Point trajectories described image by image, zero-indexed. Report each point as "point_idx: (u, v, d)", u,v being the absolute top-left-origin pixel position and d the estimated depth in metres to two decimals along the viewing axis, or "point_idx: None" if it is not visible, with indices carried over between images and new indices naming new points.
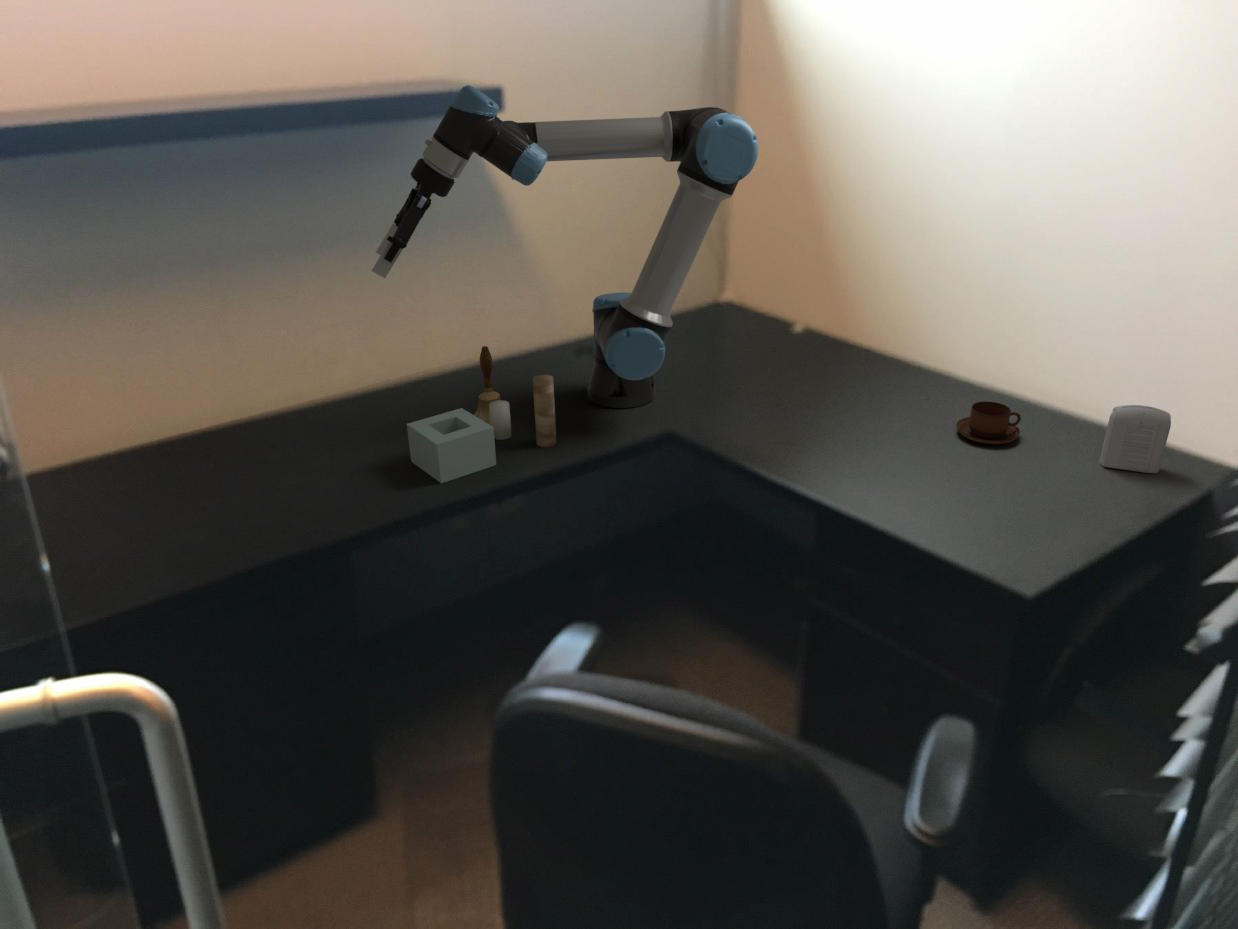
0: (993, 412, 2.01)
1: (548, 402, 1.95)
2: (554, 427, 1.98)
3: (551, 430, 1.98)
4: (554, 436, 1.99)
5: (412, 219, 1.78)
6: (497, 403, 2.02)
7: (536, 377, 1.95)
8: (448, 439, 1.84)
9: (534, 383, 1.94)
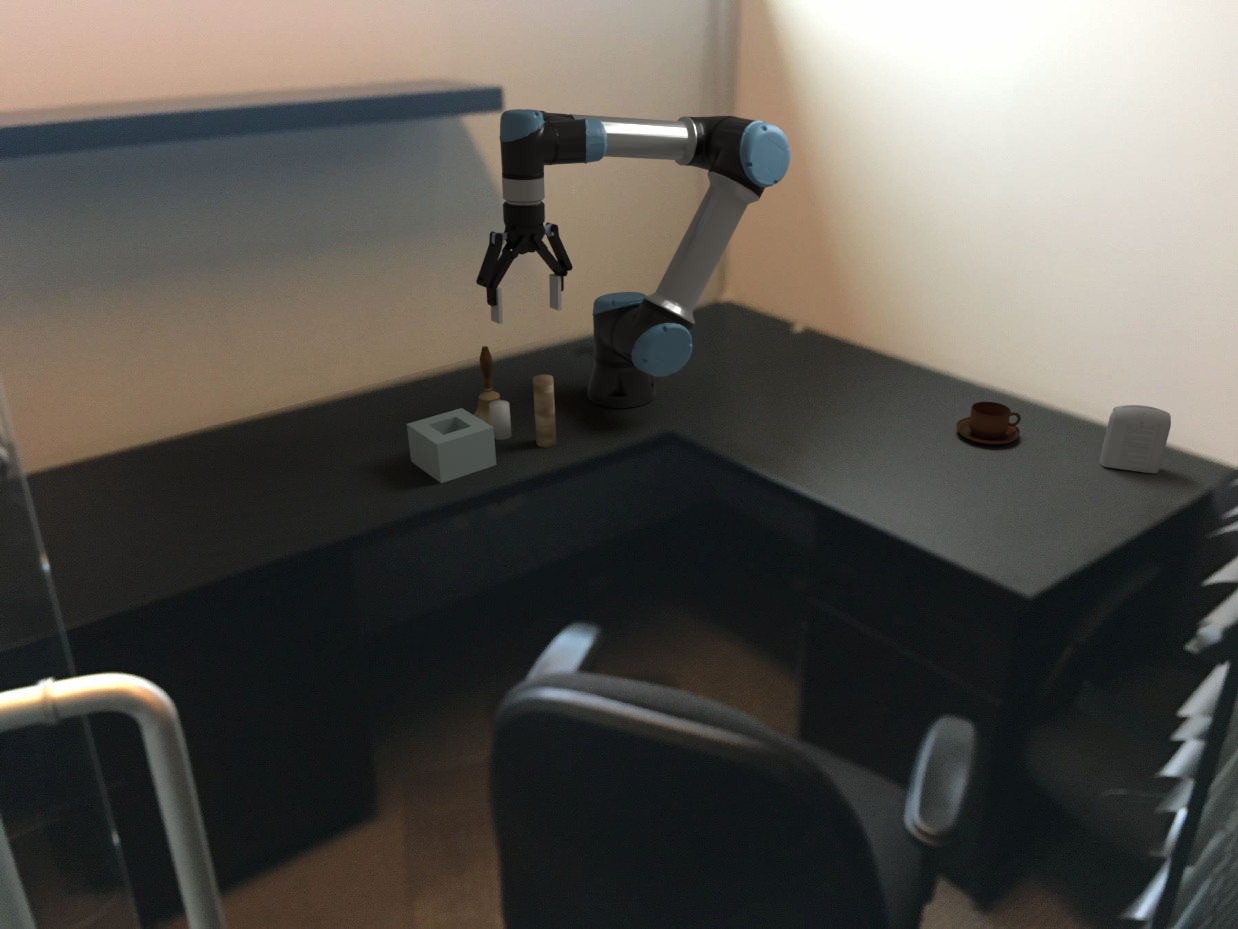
0: (993, 412, 2.01)
1: (548, 402, 1.95)
2: (554, 427, 1.98)
3: (551, 430, 1.98)
4: (554, 436, 1.99)
5: (488, 257, 1.78)
6: (497, 403, 2.02)
7: (536, 377, 1.95)
8: (448, 439, 1.84)
9: (534, 383, 1.94)
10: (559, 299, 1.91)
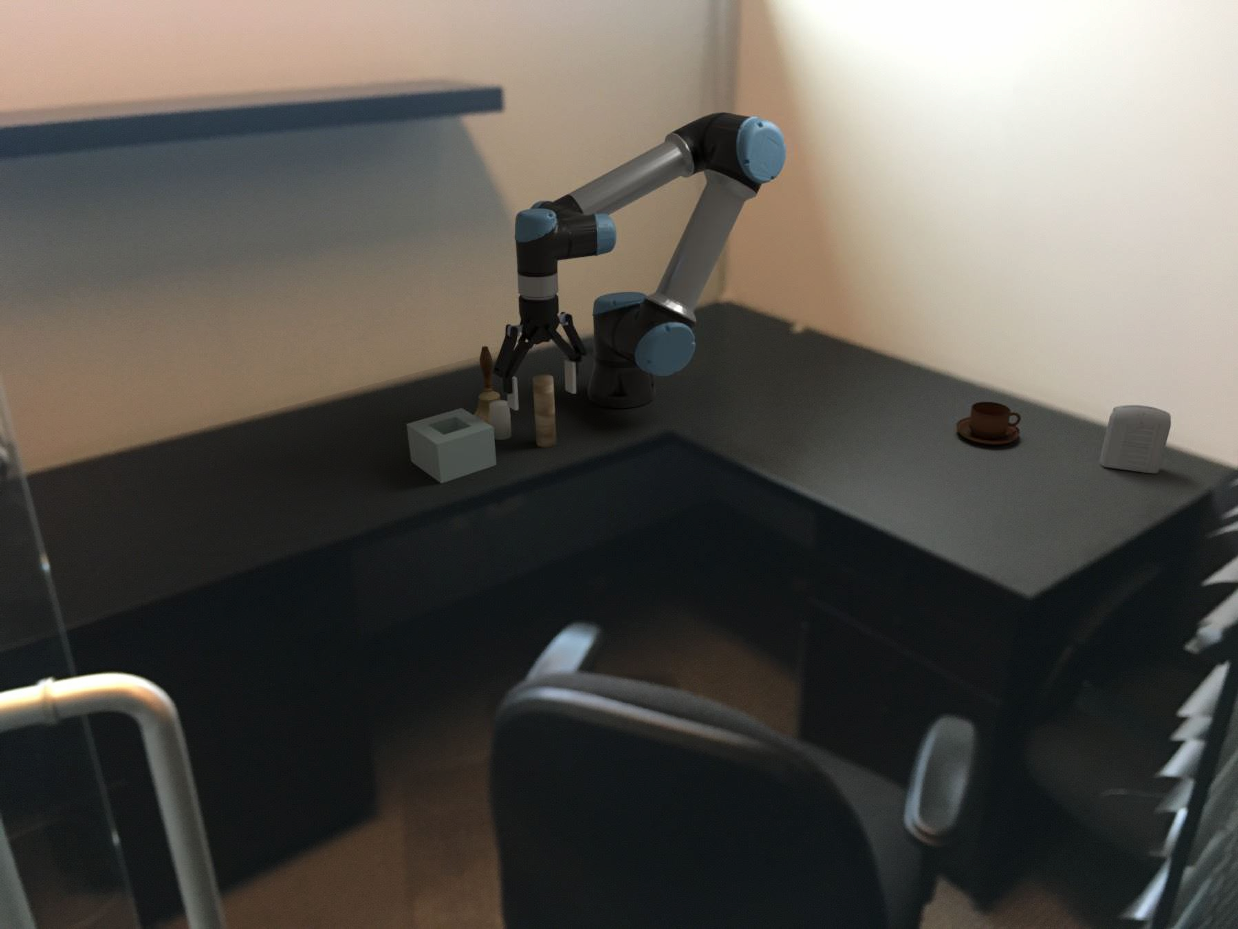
0: (993, 412, 2.01)
1: (548, 402, 1.95)
2: (554, 427, 1.98)
3: (551, 430, 1.98)
4: (554, 436, 1.99)
5: (504, 349, 1.86)
6: (497, 403, 2.02)
7: (536, 377, 1.95)
8: (448, 439, 1.84)
9: (534, 383, 1.94)
10: (574, 383, 1.98)
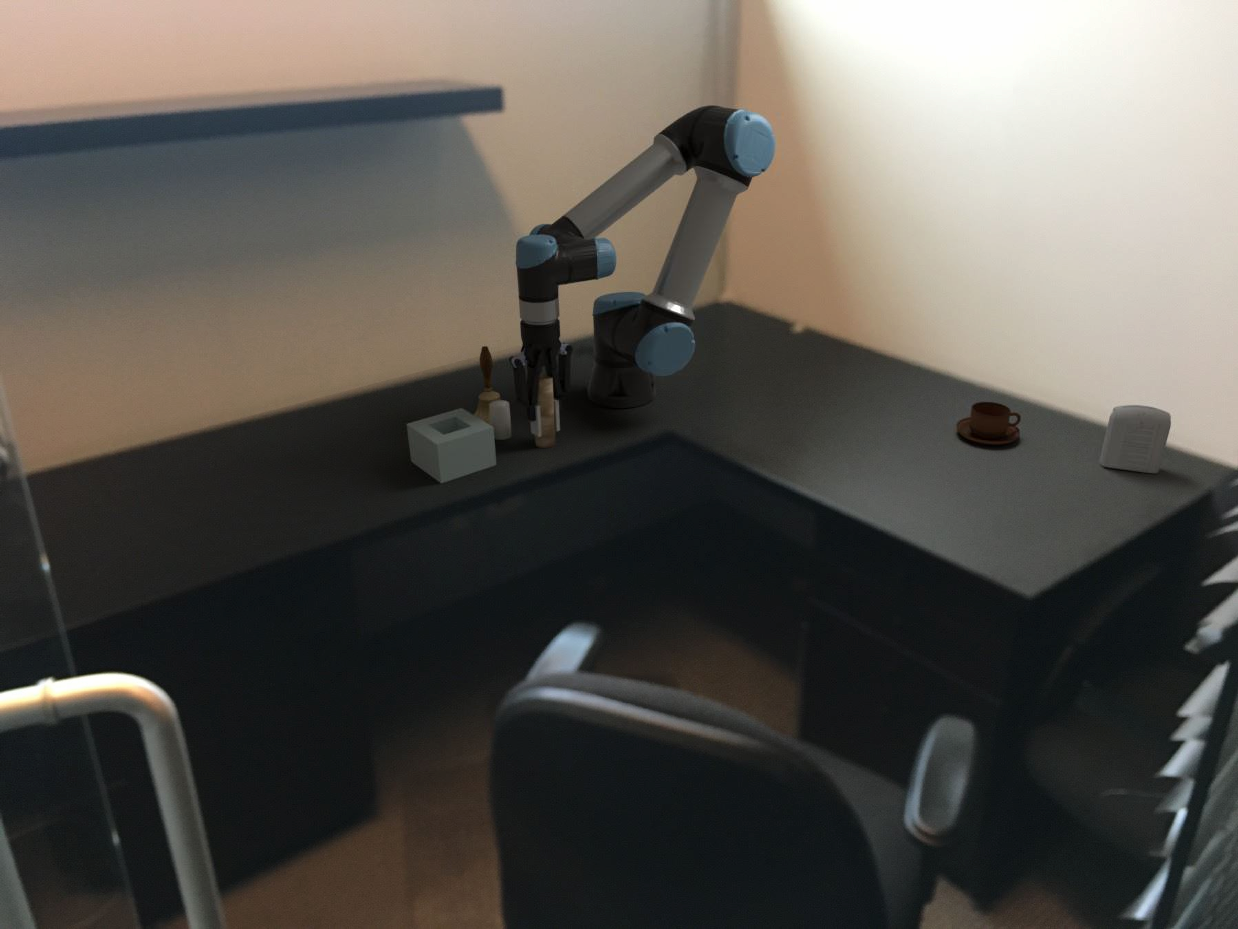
0: (993, 412, 2.01)
1: (547, 402, 1.95)
2: (553, 428, 1.98)
3: (550, 430, 1.97)
4: (553, 436, 1.99)
5: (517, 380, 1.91)
6: (497, 403, 2.02)
7: None
8: (448, 439, 1.84)
9: None
10: (557, 421, 1.99)
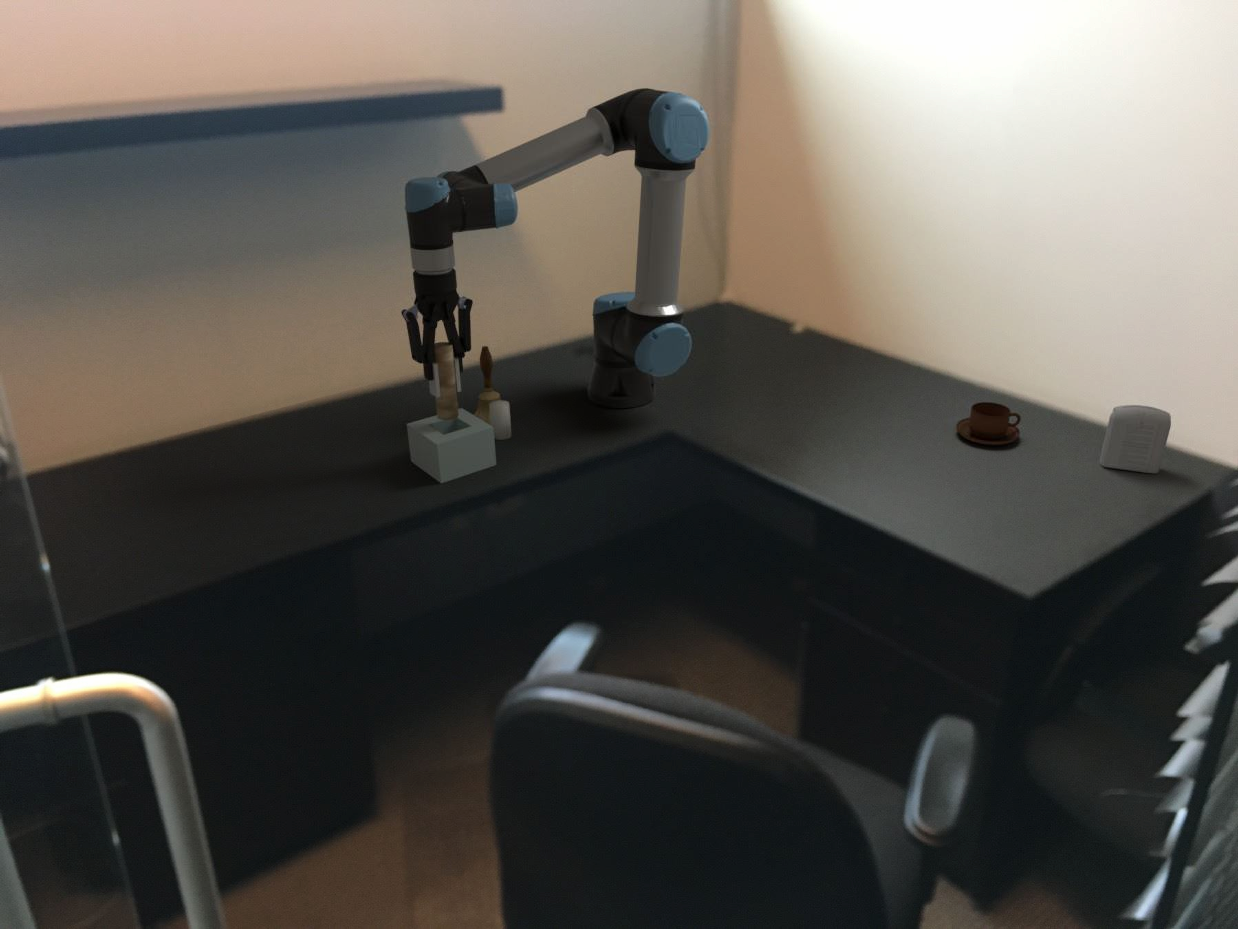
0: (993, 412, 2.01)
1: (447, 371, 1.83)
2: (454, 399, 1.86)
3: (451, 402, 1.86)
4: (455, 408, 1.87)
5: (411, 335, 1.78)
6: (497, 403, 2.02)
7: None
8: (448, 439, 1.84)
9: None
10: (458, 381, 1.86)
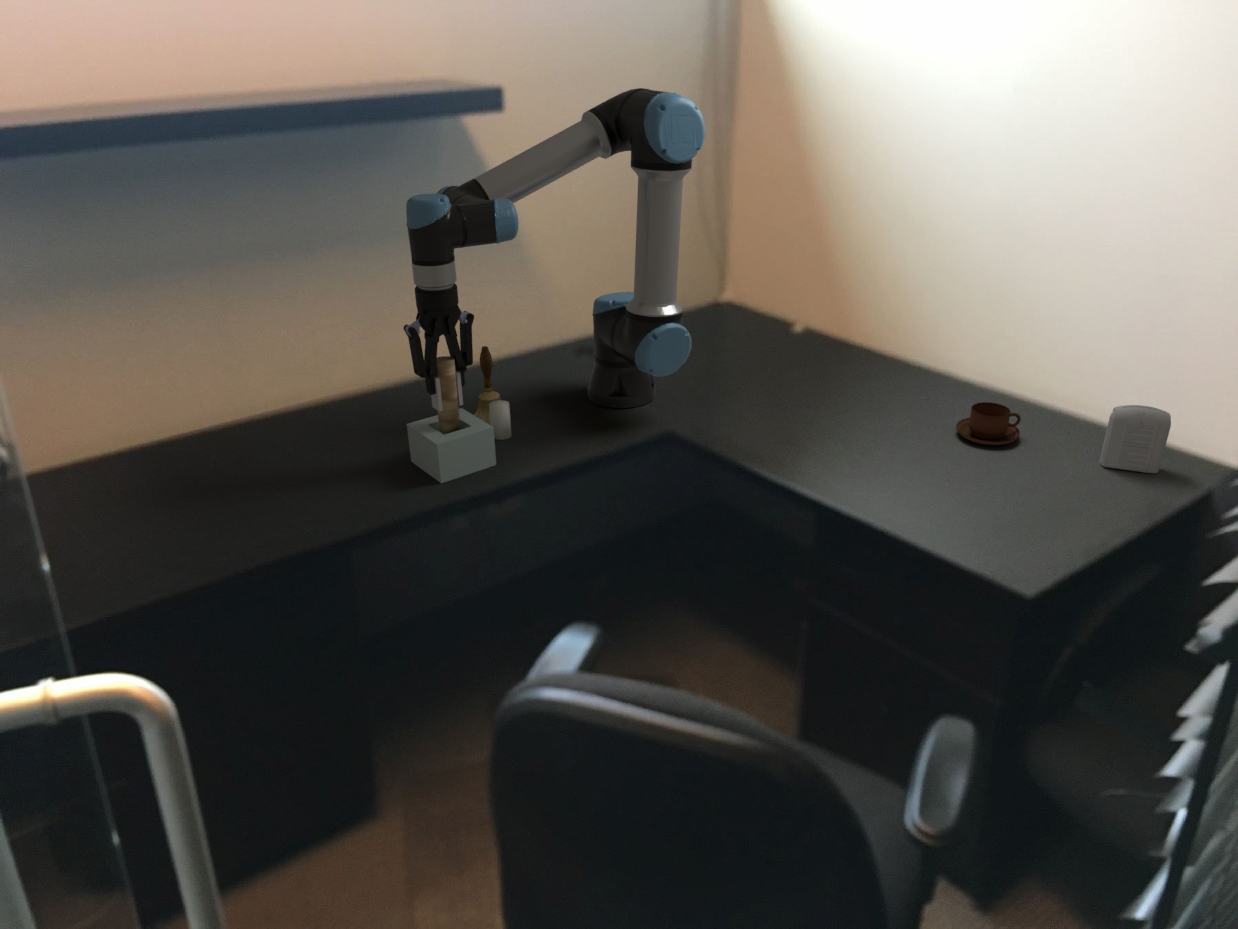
0: (993, 413, 2.01)
1: (449, 385, 1.84)
2: (456, 412, 1.87)
3: (453, 415, 1.87)
4: (457, 422, 1.88)
5: (413, 350, 1.79)
6: (497, 403, 2.02)
7: None
8: (448, 439, 1.84)
9: None
10: (460, 394, 1.87)
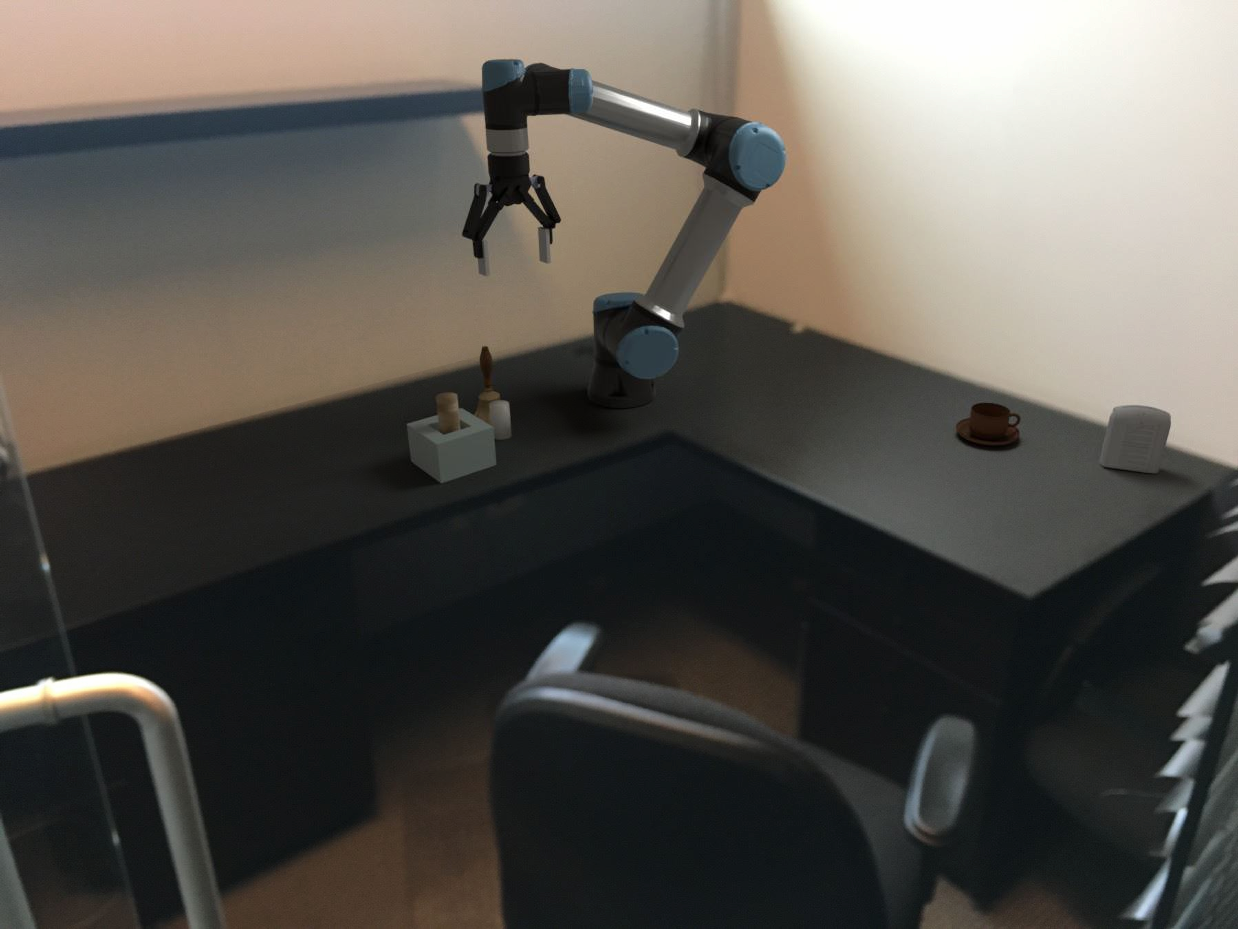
0: (993, 413, 2.01)
1: (452, 421, 1.87)
2: None
3: None
4: None
5: (473, 209, 1.79)
6: (497, 403, 2.02)
7: (440, 395, 1.87)
8: (448, 439, 1.84)
9: (437, 401, 1.86)
10: (548, 252, 1.91)
